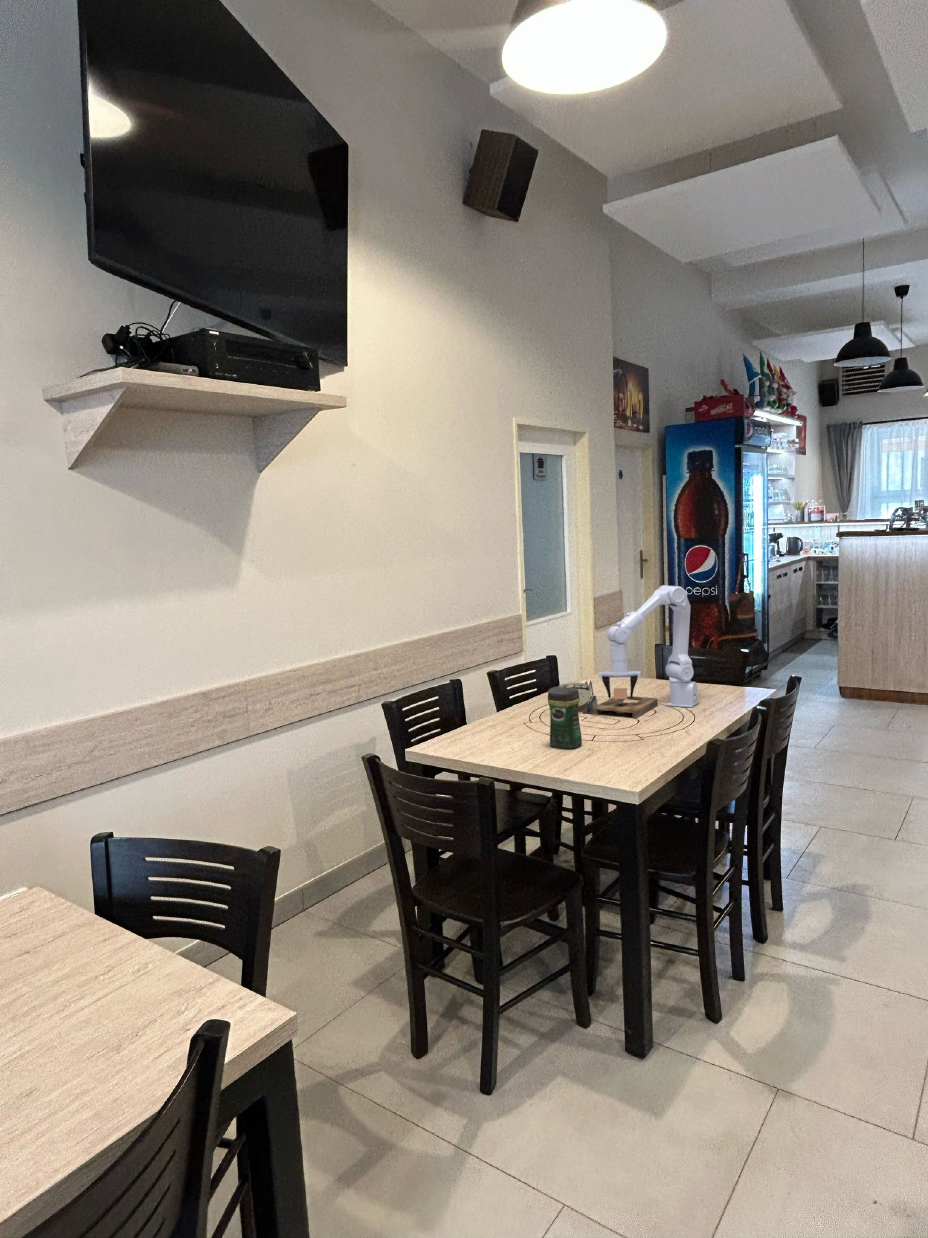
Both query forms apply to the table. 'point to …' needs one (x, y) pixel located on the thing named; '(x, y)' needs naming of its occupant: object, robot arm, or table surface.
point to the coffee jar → (564, 717)
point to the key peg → (620, 697)
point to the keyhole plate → (628, 706)
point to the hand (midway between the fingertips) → (620, 697)
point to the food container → (580, 693)
